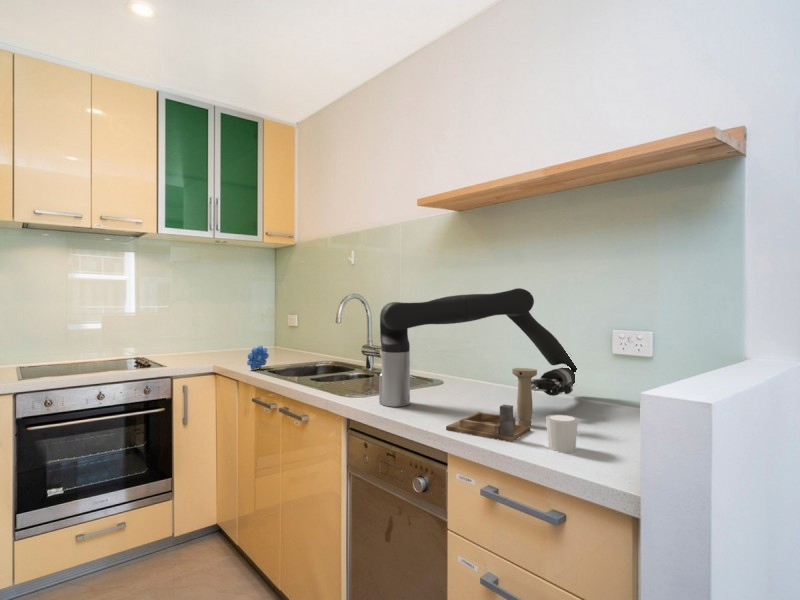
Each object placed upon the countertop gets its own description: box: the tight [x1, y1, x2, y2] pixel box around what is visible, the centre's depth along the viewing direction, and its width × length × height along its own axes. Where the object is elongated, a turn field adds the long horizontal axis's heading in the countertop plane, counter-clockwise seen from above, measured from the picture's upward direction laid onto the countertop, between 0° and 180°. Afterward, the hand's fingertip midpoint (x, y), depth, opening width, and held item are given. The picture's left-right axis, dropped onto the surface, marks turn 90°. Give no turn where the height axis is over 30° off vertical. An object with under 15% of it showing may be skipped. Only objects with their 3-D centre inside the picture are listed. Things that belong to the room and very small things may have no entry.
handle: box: [512, 367, 538, 427], centre depth 123 cm, size 5×6×15 cm
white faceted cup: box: [545, 414, 579, 454], centre depth 103 cm, size 7×7×7 cm
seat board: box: [445, 404, 531, 443], centre depth 118 cm, size 18×12×8 cm, turn 54°
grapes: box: [246, 345, 270, 370], centre depth 230 cm, size 12×7×12 cm, turn 136°
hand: (538, 389), depth 131 cm, fingers open, 8 cm apart
